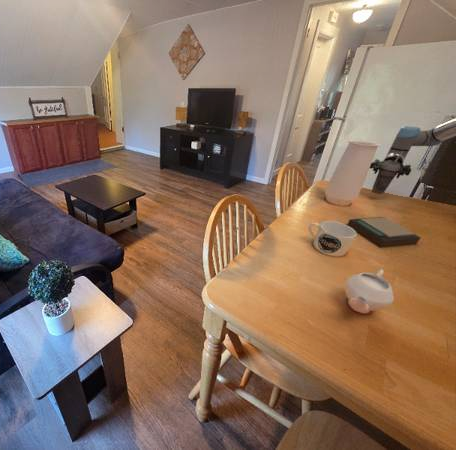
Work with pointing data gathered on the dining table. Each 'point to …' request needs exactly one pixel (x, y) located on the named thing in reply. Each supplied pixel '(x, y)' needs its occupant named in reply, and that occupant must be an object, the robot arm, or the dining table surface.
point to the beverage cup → (386, 175)
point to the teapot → (368, 292)
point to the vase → (351, 172)
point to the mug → (333, 237)
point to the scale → (383, 232)
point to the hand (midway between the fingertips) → (387, 173)
